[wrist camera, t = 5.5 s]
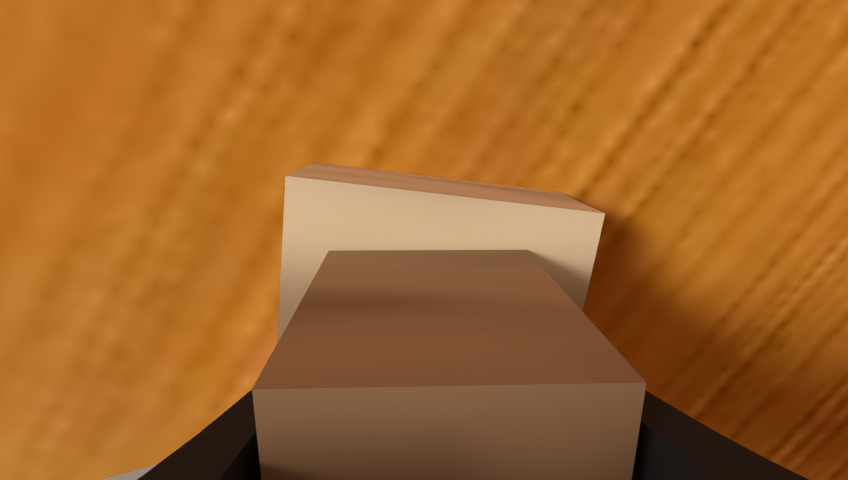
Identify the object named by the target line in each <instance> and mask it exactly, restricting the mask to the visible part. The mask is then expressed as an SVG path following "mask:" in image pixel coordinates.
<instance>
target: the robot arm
mask: <svg viewBox="0 0 848 480" xmlns="http://www.w3.org/2000/svg"><path fill="white" fill-rule="evenodd" d="M137 480H261V471H260V461H259V451H258V442H257V432H256V423H255V413H254V404H253V394H252V390H251V391H250V392H248V393H247V394H246V395H245V396H244V397H242V398H241V399H240V400H239V401H238V402H236V403H235V404H234V405H233V406H232V407H230V408H229V409H228V410H227V411H226V412H224V413H223V414H222V415H221V416H219V417H218V418H217V419H216V420H215V421H213V422H212V423H211V424H210V425H208V426H207V427H206V428H205V429H204V430H202V431H201V432H200V433H199V434H197V435H196V436H195V437H194V438H192V439H191V440H190V441H188V442H187V443H186V444H184V445H183V446H182V447H180V448H179V449H178V450H176V451H175V452H174V453H172V454H171V455H170V456H168V457H167V458H166V459H164V460H163V461H161V462H160V463H159V464H157V465H156V466H155V467H153V468H152V469H151V470H149V471H148V472H147V473H145V474H144V475H143V476H141V477H140V478H138V479H137ZM632 480H809V479H807V478H804V477H802V476H800V475H798V474H796V473H794V472H792V471H790V470H788V469H786V468H784V467H782V466H780V465H778V464H776V463H774V462H772V461H770V460H768V459H766V458H764V457H762V456H760V455H758V454H756V453H754V452H753V451H751V450H749V449H747V448H745V447H743V446H741V445H739V444H737V443H736V442H734V441H732V440H730V439H728V438H726V437H725V436H723V435H721V434H719V433H717V432H716V431H714V430H712V429H710V428H708V427H707V426H705V425H703V424H701V423H700V422H698V421H696V420H694V419H693V418H691V417H689V416H688V415H686V414H684V413H682V412H681V411H679V410H677V409H676V408H674V407H672V406H671V405H669V404H667V403H666V402H664V401H662V400H661V399H659V398H657V397H656V396H654V395H652V394H651V393H649V392H647V391H645V396H644V403H643V409H642V416H641V422H640V429H639V435H638V442H637V448H636V455H635V461H634V468H633V474H632Z"/></svg>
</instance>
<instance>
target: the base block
mask: <svg viewBox="0 0 848 480" xmlns="http://www.w3.org/2000/svg"><path fill="white" fill-rule="evenodd" d="M604 217H605V213H603V212H601V211H599V210H597V209H594V208H592V207H590V206H588V205H586V204H584V203H581V202H579V201H577V200H575V199H573V198H571V197H569V196H566V195H564V194H562V193H560V192H555V191H547V190H538V189H530V188H522V187H513V186H505V185H497V184H488V183H480V182H472V181H464V180H455V179H447V178H439V177H430V176H422V175H414V174H405V173H397V172H389V171H380V170H372V169H364V168H355V167H347V166H339V165H330V164H322V163H311V164H309V165H307V166H305V167H303V168H301V169H299V170H297V171H295V172H293V173H291V174H289V175H286V179H285V199H284V219H283V239H282V259H281V279H280V299H279V319H278V339H277V343H278V342H279V340H280V338H281V336H282V334H283V333H284V331H285V329H286V327H287V325H288V324H289V322H290V320H291V318H292V316H293V315H294V313H295V311H296V309H297V307H298V305H299V304H300V302H301V300H302V298H303V296H304V295H305V293H306V291H307V289H308V287H309V286H310V284H311V282H312V280H313V278H314V277H315V275H316V273H317V271H318V269H319V268H320V266H321V264H322V262H323V260H324V258H325V257H326V255H327V253H328V251H369V250H527V251H528V252H529V253H530V254H531V255H532V256H533V257H534V259H535V260H536V261H537V262H538V263H539V264H540V265H541V266H542V267H543V268H544V270H545V271H546V272H547V273H548V274H549V275H550V276H551V277H552V278H553V280H554V281H555V282H556V283H557V284H558V285H559V286H560V287H561V288H562V290H563V291H564V292H565V293H566V294H567V295H568V296H569V297H570V298H571V300H572V301H573V302H574V303H575V304H576V305H577V306H578V307H579V308H580V309H581V311H582V312H583V309H584V305H585V300H586V296H587V292H588V287H589V283H590V278H591V274H592V270H593V265H594V261H595V256H596V252H597V248H598V243H599V239H600V234H601V230H602V226H603V221H604Z"/></svg>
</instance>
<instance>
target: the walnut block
mask: <svg viewBox="0 0 848 480" xmlns="http://www.w3.org/2000/svg"><path fill="white" fill-rule="evenodd" d="M645 390H646V381H645V380H644V379H643V378H642V377H641V376H640V375H639V374H638V373H637V372H636V370H635V369H634V368H633V367H632V366H631V365H630V364H629V363H628V362H627V360H626V359H625V358H624V357H623V356H622V355H621V354H620V353H619V352H618V350H617V349H616V348H615V347H614V346H613V345H612V344H611V343H610V342H609V340H608V339H607V338H606V337H605V336H604V335H603V334H602V333H601V332H600V331H599V329H598V328H597V327H596V326H595V325H594V324H593V323H592V322H591V321H590V319H589V318H588V317H587V316H586V315H585V314H584V313H583V312H582V311H581V309H580V308H579V307H578V306H577V305H576V304H575V303H574V302H573V301H572V300H571V298H570V297H569V296H568V295H567V294H566V293H565V292H564V291H563V290H562V288H561V287H560V286H559V285H558V284H557V283H556V282H555V281H554V280H553V278H552V277H551V276H550V275H549V274H548V273H547V272H546V271H545V270H544V268H543V267H542V266H541V265H540V264H539V263H538V262H537V261H536V260H535V259H534V257H533V256H532V255H531V254H530V253H529V252H528V251H527V250H369V251H328V253H327V255H326V257H325V258H324V260H323V262H322V264H321V266H320V268H319V269H318V271H317V273H316V275H315V277H314V278H313V280H312V282H311V284H310V286H309V287H308V289H307V291H306V293H305V295H304V296H303V298H302V300H301V302H300V304H299V305H298V307H297V309H296V311H295V313H294V315H293V316H292V318H291V320H290V322H289V324H288V325H287V327H286V329H285V331H284V333H283V334H282V336H281V338H280V340H279V342H278V343H277V345H276V347H275V349H274V351H273V352H272V354H271V356H270V358H269V360H268V362H267V363H266V365H265V367H264V369H263V371H262V372H261V374H260V376H259V378H258V380H257V381H256V383H255V385H254V387H253V389H252V394H253V404H254V413H255V423H256V432H257V442H258V451H259V461H260V471H261V480H632V474H633V468H634V461H635V455H636V448H637V442H638V435H639V429H640V422H641V416H642V409H643V403H644V396H645Z"/></svg>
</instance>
